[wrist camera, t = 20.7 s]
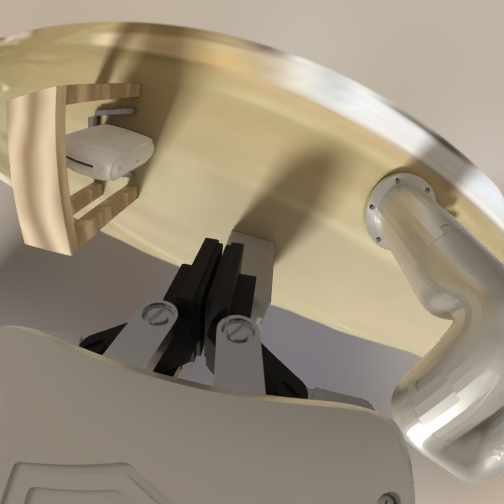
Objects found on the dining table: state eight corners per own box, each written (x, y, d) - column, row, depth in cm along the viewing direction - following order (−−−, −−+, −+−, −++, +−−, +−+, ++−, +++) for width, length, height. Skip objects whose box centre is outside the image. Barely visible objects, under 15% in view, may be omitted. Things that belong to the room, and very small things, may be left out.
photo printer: (159, 138, 35) (112, 156, 24) (151, 164, 37) (105, 192, 27) (104, 120, 34) (50, 134, 23) (98, 145, 36) (46, 166, 25)
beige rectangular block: (222, 265, 45) (194, 351, 30) (232, 230, 42) (202, 312, 26) (261, 276, 45) (250, 366, 30) (274, 242, 42) (268, 330, 27)
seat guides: (136, 108, 33) (131, 108, 31) (134, 175, 38) (129, 178, 37) (94, 110, 33) (88, 111, 32) (94, 173, 38) (89, 175, 37)
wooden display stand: (140, 84, 31) (56, 86, 16) (137, 198, 40) (71, 256, 25) (92, 88, 31) (7, 101, 16) (94, 193, 40) (25, 243, 25)
